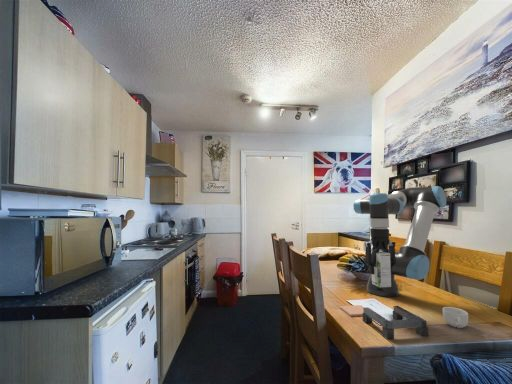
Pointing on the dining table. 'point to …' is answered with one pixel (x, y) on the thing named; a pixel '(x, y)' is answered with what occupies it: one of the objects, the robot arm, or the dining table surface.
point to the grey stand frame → (396, 321)
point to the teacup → (455, 317)
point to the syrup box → (383, 269)
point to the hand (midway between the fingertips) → (381, 281)
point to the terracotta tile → (353, 310)
